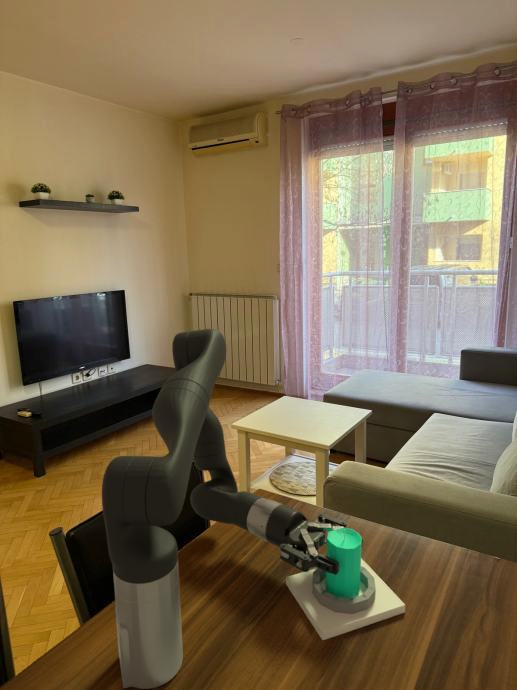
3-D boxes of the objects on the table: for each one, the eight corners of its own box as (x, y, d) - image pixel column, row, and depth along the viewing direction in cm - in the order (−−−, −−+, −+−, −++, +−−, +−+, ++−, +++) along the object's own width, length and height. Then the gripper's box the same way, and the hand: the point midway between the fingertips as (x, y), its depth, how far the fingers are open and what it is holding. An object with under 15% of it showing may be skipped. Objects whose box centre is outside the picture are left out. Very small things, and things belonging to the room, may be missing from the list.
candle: (357, 579, 88) (360, 520, 86) (361, 603, 82) (364, 540, 80) (324, 577, 89) (326, 519, 86) (326, 601, 83) (328, 539, 80)
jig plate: (322, 640, 77) (322, 621, 76) (286, 584, 89) (286, 567, 89) (404, 612, 82) (405, 594, 82) (359, 563, 95) (360, 547, 94)
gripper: (252, 522, 87) (330, 557, 77) (296, 490, 98) (370, 518, 88) (252, 558, 88) (329, 598, 79) (296, 523, 99) (368, 554, 89)
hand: (350, 556), depth 83 cm, fingers open, 8 cm apart
